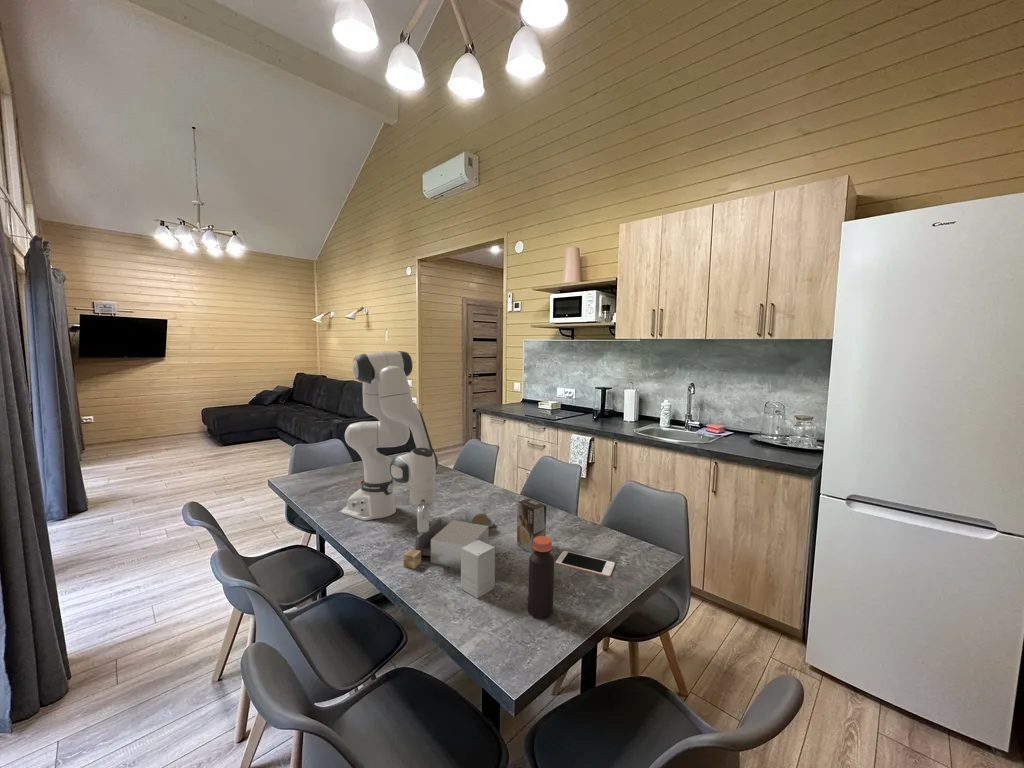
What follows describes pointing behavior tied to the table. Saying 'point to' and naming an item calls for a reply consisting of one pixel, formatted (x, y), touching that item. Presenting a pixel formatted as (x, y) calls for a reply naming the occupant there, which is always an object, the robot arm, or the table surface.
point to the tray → (427, 538)
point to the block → (412, 558)
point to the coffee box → (530, 522)
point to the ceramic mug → (478, 516)
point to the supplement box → (477, 568)
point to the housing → (455, 542)
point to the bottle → (541, 578)
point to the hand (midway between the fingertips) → (422, 533)
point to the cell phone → (585, 563)
